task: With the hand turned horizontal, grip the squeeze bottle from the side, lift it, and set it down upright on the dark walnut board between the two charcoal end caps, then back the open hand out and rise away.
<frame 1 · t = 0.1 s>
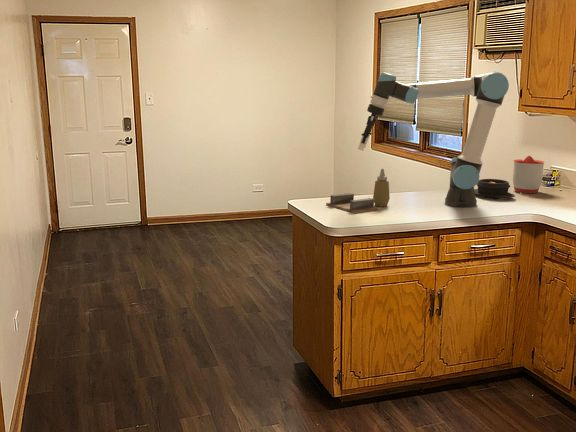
hand: (361, 148, 300), 28 cm above the worktop, tool tilted 20°, fingers open, 13 cm apart
citrus juicer: (525, 191, 346), on the worktop
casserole: (492, 197, 330), on the worktop
end cap board: (351, 207, 301), on the worktop
squeeze bottle: (380, 206, 305), on the worktop
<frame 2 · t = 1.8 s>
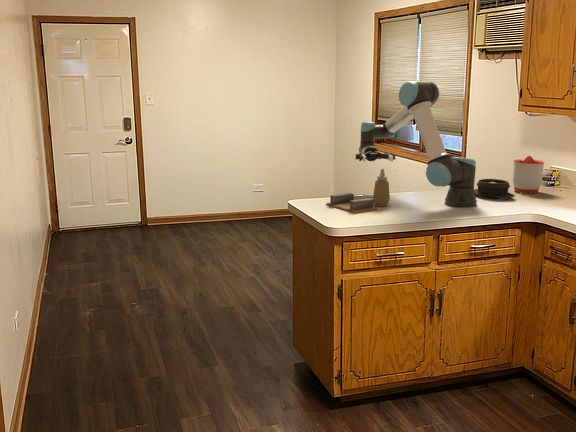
hand: (378, 159, 310), 21 cm above the worktop, tool horizontal, fingers open, 13 cm apart
nothing on the worktop moved.
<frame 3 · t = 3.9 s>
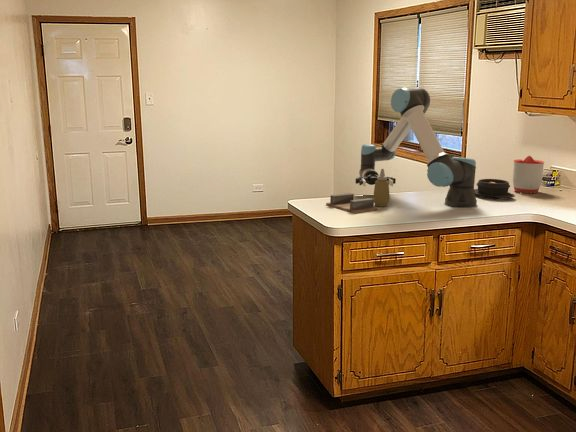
hand: (378, 183, 308), 10 cm above the worktop, tool horizontal, fingers open, 13 cm apart
nothing on the worktop moved.
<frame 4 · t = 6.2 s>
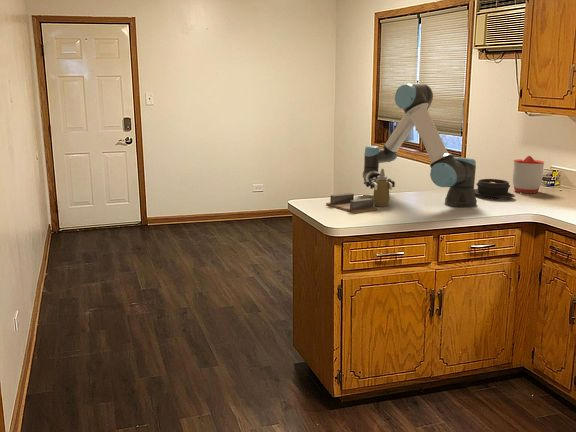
hand: (384, 187, 298), 10 cm above the worktop, tool horizontal, fingers closed on squeeze bottle, 6 cm apart
squeeze bottle: (380, 206, 305), on the worktop, touching gripper
everything else where it was.
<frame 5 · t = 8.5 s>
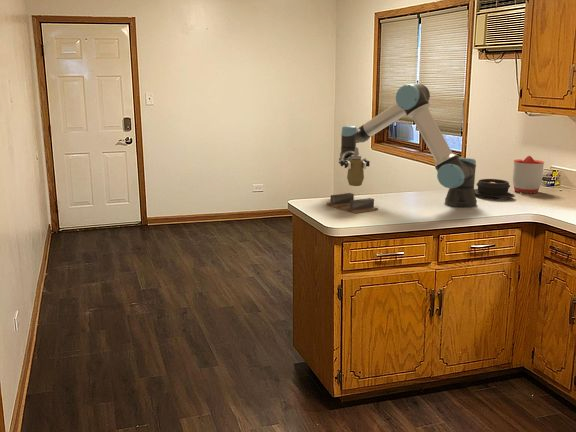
hand: (357, 166, 293), 20 cm above the worktop, tool horizontal, fingers closed on squeeze bottle, 6 cm apart
squeeze bottle: (355, 185, 300), point 10 cm above the worktop, touching gripper
everything else where it was.
when the fingers open (12 cm above the worktop, at t = 10.8 s): squeeze bottle drops 1 cm, resting on end cap board.
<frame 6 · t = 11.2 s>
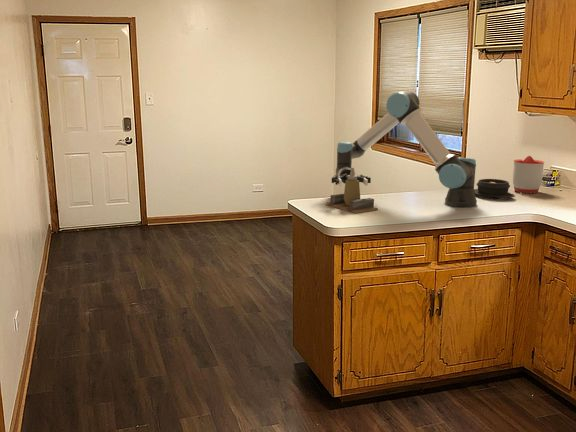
hand: (353, 183, 294), 12 cm above the worktop, tool horizontal, fingers open, 11 cm apart
squeeze bottle: (351, 205, 300), point 1 cm above the worktop, touching end cap board
everything else where it was.
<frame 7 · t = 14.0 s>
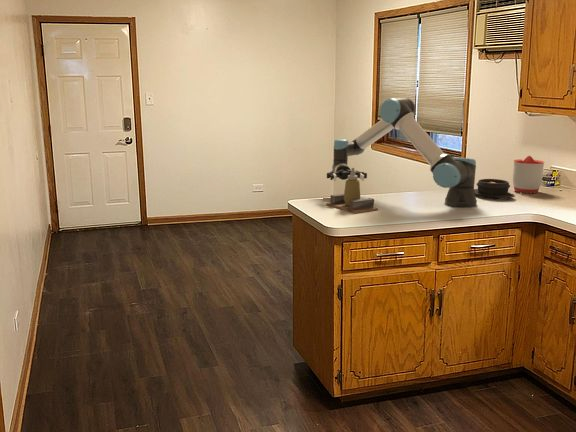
hand: (349, 178, 307), 13 cm above the worktop, tool horizontal, fingers open, 13 cm apart
nothing on the worktop moved.
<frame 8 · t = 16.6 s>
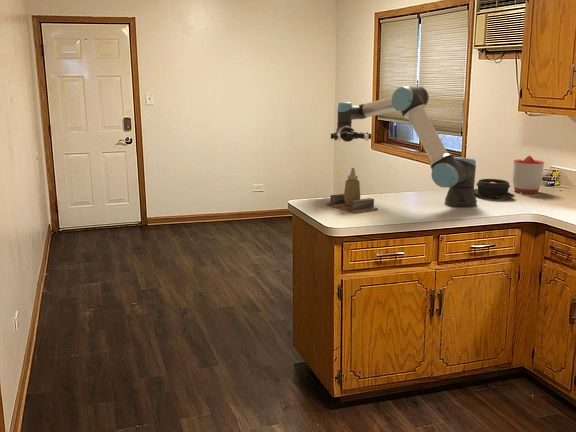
hand: (353, 137, 305), 32 cm above the worktop, tool horizontal, fingers open, 13 cm apart
nothing on the worktop moved.
at the end: squeeze bottle inside the target area on the end cap board (0.1 cm from its centre), point 0.8 cm above the end cap board's base; squeeze bottle tilted 0°; the gripper is holding nothing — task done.
